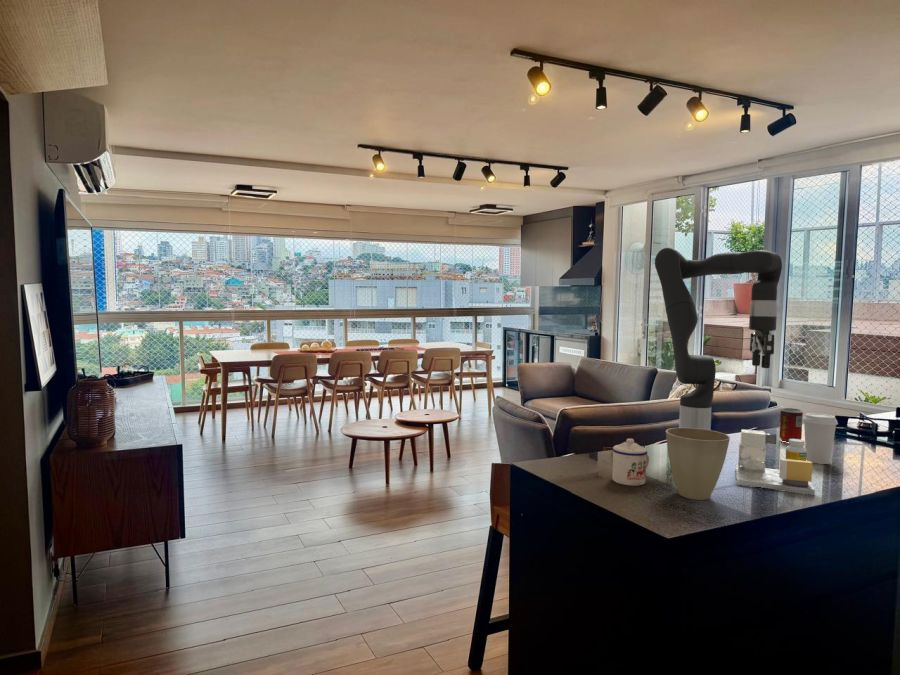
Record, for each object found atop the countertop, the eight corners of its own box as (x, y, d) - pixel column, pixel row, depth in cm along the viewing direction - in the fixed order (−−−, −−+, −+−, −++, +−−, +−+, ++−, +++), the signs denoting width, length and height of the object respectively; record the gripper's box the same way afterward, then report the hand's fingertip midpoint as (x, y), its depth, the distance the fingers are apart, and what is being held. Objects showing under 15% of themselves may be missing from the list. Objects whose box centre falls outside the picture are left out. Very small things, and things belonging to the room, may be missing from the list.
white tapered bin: (803, 463, 185) (805, 416, 184) (797, 457, 194) (800, 411, 193) (838, 467, 181) (841, 419, 180) (831, 460, 190) (834, 414, 189)
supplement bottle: (790, 468, 178) (792, 437, 178) (809, 473, 174) (810, 441, 173) (781, 471, 175) (782, 439, 175) (800, 475, 171) (801, 442, 170)
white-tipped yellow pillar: (807, 481, 159) (808, 459, 159) (813, 487, 153) (814, 464, 153) (777, 478, 161) (778, 456, 161) (782, 484, 155) (783, 461, 155)
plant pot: (654, 495, 148) (656, 433, 147) (675, 483, 160) (677, 425, 159) (716, 509, 139) (720, 442, 138) (734, 495, 150) (737, 433, 149)
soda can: (804, 442, 216) (806, 409, 215) (795, 445, 212) (797, 411, 211) (784, 439, 222) (786, 406, 221) (775, 441, 217) (777, 408, 217)
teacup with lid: (630, 488, 154) (631, 444, 154) (604, 479, 162) (605, 437, 161) (660, 482, 160) (662, 439, 160) (634, 473, 168) (636, 433, 168)
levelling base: (736, 485, 159) (739, 439, 159) (735, 469, 176) (737, 428, 175) (814, 495, 152) (816, 447, 151) (805, 478, 168) (807, 434, 168)
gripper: (784, 315, 176) (782, 369, 177) (767, 315, 190) (765, 365, 191) (758, 314, 177) (755, 368, 178) (742, 314, 191) (740, 364, 192)
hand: (760, 366), depth 184 cm, fingers open, 8 cm apart
